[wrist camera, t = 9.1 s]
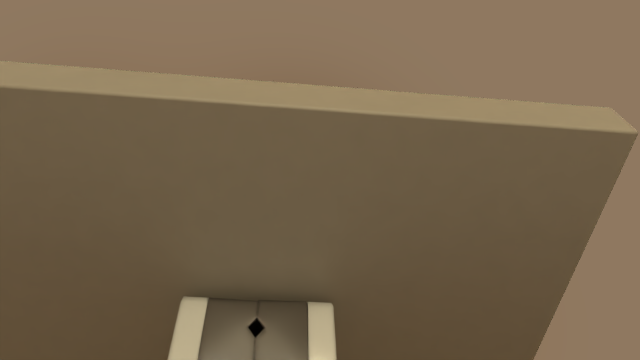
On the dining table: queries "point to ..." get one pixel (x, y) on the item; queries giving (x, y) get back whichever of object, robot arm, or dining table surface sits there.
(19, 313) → the box lid
